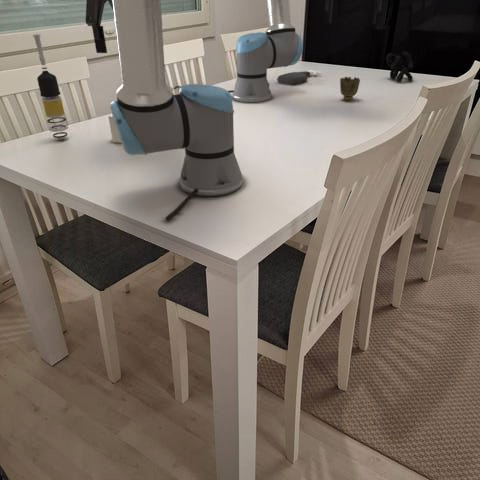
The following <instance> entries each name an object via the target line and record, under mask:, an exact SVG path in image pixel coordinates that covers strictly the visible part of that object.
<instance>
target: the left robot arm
mask: <svg viewBox="0 0 480 480" xmlns="http://www.w3.org/2000/svg"><path fill="white" fill-rule="evenodd" d="M85 2H86V4H85V24H87V27H91V29H92V35H93V40H94V46H95V51H96V54H107V53H108V49H107V43H106V37H105V32H104V25H101V24H102V20H103V14H104V8H105V4H106V3H107V2H108V4H109V6H110V8H111V9H112V11H113V15H114V24H115V31H116V32H115V33H116V39H117V40H116V42H117V47H118V55H119V64H120V72H121V80H122V84H121V86H119V88H118V89H117V90H116V93H115V94H116V100H113V101H112V102H110V103H109V106H110V111H111V115H113V118H114V121H115V125H116V128H117V131H118V134H119V137H120V140H121V143H120V144H121V145H122V148H123V151H125V153H126V154H127V155H130V156H138V155H145V156H146V155H148V154H154V153H161V152H167V151H174V150H179V149H184V154H185V155H184V158H183V164H182V168H181V171H180V177H179V183H180V184H179V185H180V188H181V189H182V191H184V192H186V193H187V194H188V195H187V196H186V198H185V199H184V200H183V201H181V203H180V204H179V205H178V206H177V207H175V209H174V210H172V211H171V212H170V213H169V214H168V215H166V216H165V220H166V221H169V220H171V219H172V218H173V217H174V216H176V215H177V214H178V213H179V212H180V211H181V210H183V208H184V207H185V206H186V205H187V204H188V203H189V201H190V200H191V199H192V198H194V196H199V197H221V196H224V195H229V194H232V193H234V192H235V191H237V190H239V189H240V188H241V187H242V185H243V174H242V171H241V168H240V165H239V163H238V160H237V157H236V154H235V132H234V127H235V126H234V113H235V110H234V104H233V95H232V94H231V93H229V92H228V91H229V90H227V89H225V88H223V87H220V86H216V85H212V84H203V83H189V84H188V83H187V84H183V85H180V86H181V87H180V88H179V90H178V94H174V91H173V90H174V89H173V88H171V86H169V85H168V84H167V82H166V69H165V67H166V66H165V53H164V52H165V51H164V34H163V17H162V0H86V1H85Z"/></svg>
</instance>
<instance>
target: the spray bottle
mask: <svg viewBox="0 0 480 480" xmlns="http://www.w3.org/2000/svg"><path fill="white" fill-rule="evenodd" d="M318 75H322V71H318V70H311V69H310V70H308V69H306V71H291V72H286V73H283V74H280V75H278V76H277V78H276V81H277V83H278V84H282V85H289V86H296V85H299V84H303V83H306V82H307V81H308V77H310V76H318Z"/></svg>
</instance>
